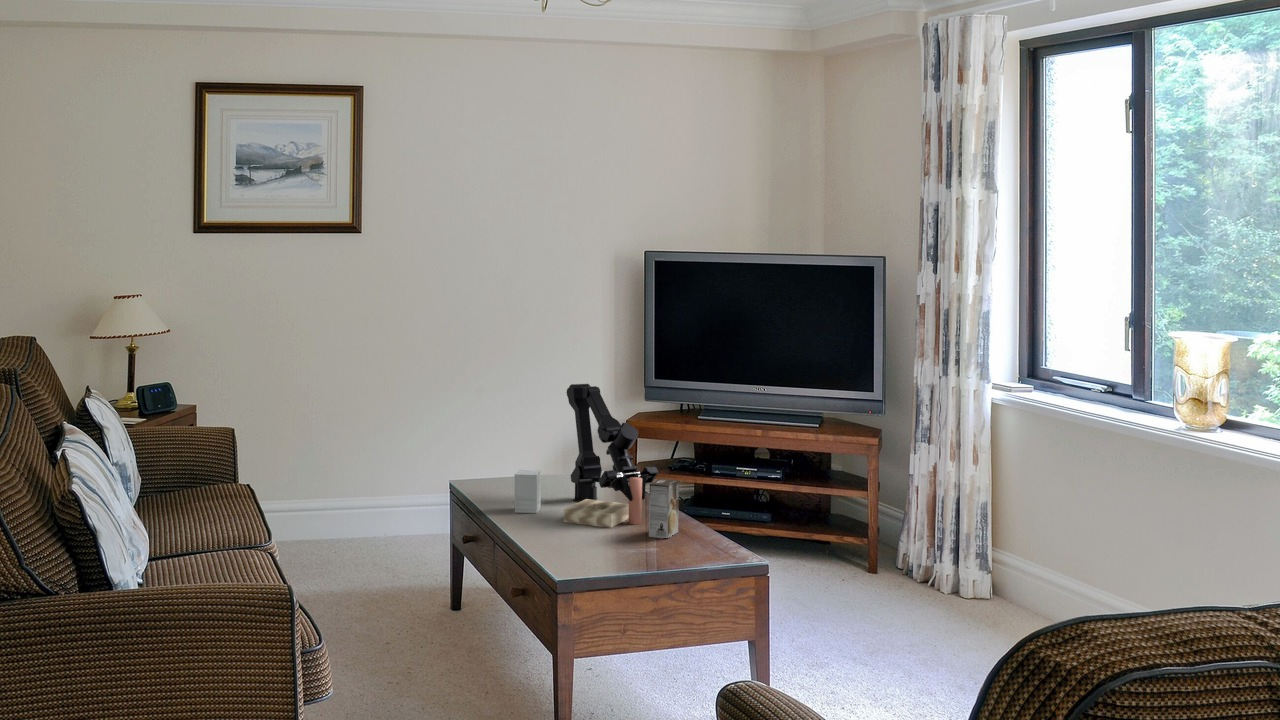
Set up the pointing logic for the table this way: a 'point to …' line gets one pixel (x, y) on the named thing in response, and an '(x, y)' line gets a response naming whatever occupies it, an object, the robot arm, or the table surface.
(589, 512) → the socket board
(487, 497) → the table surface
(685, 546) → the table surface
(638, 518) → the peg
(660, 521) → the white food box
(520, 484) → the supplement box
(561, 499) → the table surface
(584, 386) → the robot arm
